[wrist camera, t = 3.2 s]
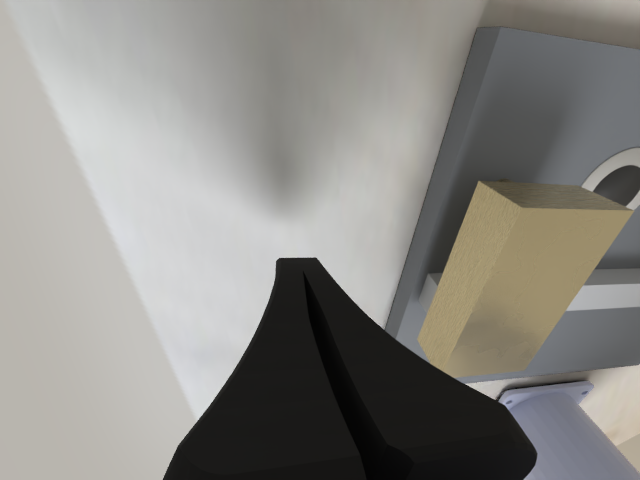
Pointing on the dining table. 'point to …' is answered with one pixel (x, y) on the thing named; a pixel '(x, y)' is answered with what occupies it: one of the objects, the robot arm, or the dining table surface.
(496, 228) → the block
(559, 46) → the bolt plate
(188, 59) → the dining table surface
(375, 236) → the dining table surface
